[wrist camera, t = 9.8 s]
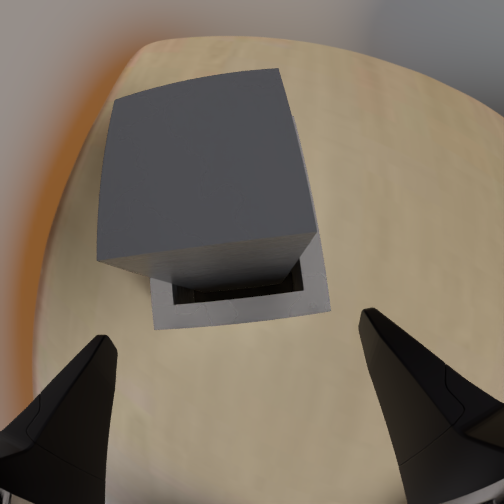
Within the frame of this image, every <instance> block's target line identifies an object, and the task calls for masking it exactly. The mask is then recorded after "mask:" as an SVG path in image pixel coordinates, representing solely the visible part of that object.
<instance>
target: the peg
mask: <svg viewBox="0 0 504 504" xmlns="http://www.w3.org/2000/svg"><path fill="white" fill-rule="evenodd" d="M316 233H317V228H316V222H315V217H314V212H313V207H312V202H311V197H310V192H309V187H308V182H307V178H306V173H305V168H304V164H303V160H302V155H301V151H300V147H299V143H298V139H297V134H296V130H295V127H294V123H293V119H292V115H291V111H290V107H289V104H288V100H287V96H286V93H285V89H284V86H283V82H282V79H281V76H280V72H279V69H278V68H275V69H261V70H250V71H241V72H233V73H226V74H219V75H213V76H207V77H201V78H196V79H191V80H186V81H181V82H177V83H172V84H168V85H164V86H160V87H156V88H152V89H149V90H145V91H142V92H138V93H135V94H132V95H128V96H125V97H122V98H119V99H116V100H115V101H114V105H113V110H112V114H111V119H110V124H109V129H108V135H107V141H106V147H105V153H104V160H103V167H102V176H101V185H100V195H99V208H98V225H97V261H99V262H102V263H105V264H108V265H111V266H114V267H118V268H121V269H124V270H127V271H130V272H134V273H137V274H140V275H144V276H147V277H150V278H154V279H157V280H161V281H164V282H168V283H171V284H175V285H178V286H182V287H185V288H189V289H193V290H197V291H200V292H204V293H208V292H217V291H226V290H235V289H243V288H252V287H260V286H268V285H276V284H281V283H282V282H283V281H284V279H285V278H286V276H287V275H288V274H289V272H290V271H291V269H292V268H293V266H294V265H295V264H296V262H297V261H298V259H299V258H300V256H301V255H302V253H303V252H304V251H305V249H306V248H307V246H308V245H309V243H310V242H311V240H312V239H313V237H314V236H315V234H316Z"/></svg>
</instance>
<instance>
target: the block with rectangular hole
mask: <svg viewBox="0 0 504 504" xmlns="http://www.w3.org/2000/svg"><path fill="white" fill-rule="evenodd" d="M292 119H293V123H294V127H295V130H296V134H297V139H298V143H299V147H300V151H301V155H302V160H303V164H304V168H305V173H306V178H307V182H308V187H309V192H310V197H311V202H312V207H313V212H314V217H315V222H316V228H317V233H316V234H315V236H314V237H313V239H312V240H311V242H310V243H309V245H308V246H307V248H306V249H305V251H304V252H303V253H302V255H301V256H300V258H299V259H298V261H297V262H296V264H295V265H294V266H293V268H292V269H291V274H292V281H293V289H294V292H289V293H282V294H274V295H266V296H258V297H249V298H240V299H231V300H222V301H212V302H202V303H195V300H194V290H193V289H189V288H185V287H182V286H178V285H175V284H171V283H168V282H164V281H161V280H157V279H154V278H150V287H151V301H152V312H153V322H154V330H161V329H179V328H194V327H206V326H218V325H229V324H239V323H248V322H257V321H265V320H274V319H281V318H289V317H296V316H303V315H309V314H316V313H322V312H328V311H331V307H330V299H329V292H328V285H327V278H326V271H325V265H324V258H323V252H322V246H321V240H320V234H319V229H318V223H317V218H316V213H315V208H314V202H313V197H312V193H311V188H310V183H309V178H308V174H307V169H306V165H305V160H304V156H303V152H302V148H301V143H300V139H299V135H298V131H297V127H296V123H295V120H294V116H292Z"/></svg>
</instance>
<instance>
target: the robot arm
mask: <svg viewBox="0 0 504 504" xmlns="http://www.w3.org/2000/svg"><path fill="white" fill-rule="evenodd" d="M359 334H360V338H361V342H362V346H363V350H364V354H365V359H366V363H367V367H368V370H369V374H370V377H371V379H372V382H373V385H374V388H375V391H376V394H377V397H378V400H379V403H380V406H381V409H382V412H383V415H384V418H385V421H386V425H387V428H388V431H389V434H390V438H391V441H392V445H393V448H394V451H395V455H396V459H397V462H398V466H399V470H400V474H401V478H402V482H403V486H404V490H405V494H406V499H407V503H408V504H504V403H502V402H500V401H498V400H496V399H495V398H493V397H492V396H490V395H489V394H487V393H486V392H484V391H483V390H481V389H480V388H478V387H477V386H475V385H474V384H472V383H471V382H469V381H468V380H466V379H465V378H464V377H462V376H461V375H460V374H458V373H457V372H456V371H455V370H453V369H452V368H451V367H450V366H448V365H447V364H446V365H445V363H444V362H443V361H442V360H441V359H440V358H438V357H437V356H436V355H435V354H433V353H432V352H431V351H430V350H428V349H427V348H426V347H424V346H423V345H422V344H421V343H419V342H418V341H417V340H416V339H414V338H413V337H412V336H410V335H409V334H408V333H407V332H405V331H404V330H403V329H401V328H400V327H399V326H398V325H396V324H395V323H394V322H392V321H391V320H390V319H389V318H387V317H386V316H385V315H383V314H382V313H381V312H379V311H378V310H377V309H375V308H367V309H363V310H362V312H361V317H360V322H359ZM117 356H118V353H117V349H116V347H115V346H114V344H113V343H112V341H111V340H110V338H109V337H108V336H107V335H97V336H95V337H94V338H93V339H92V340H91V341H90V342H89V343H88V344H87V345H86V346H85V347H84V348H83V349H82V350H81V351H80V352H79V353H78V354H77V355H76V356H75V357H74V358H73V359H72V360H71V361H70V362H69V363H68V365H67V366H66V367H65V368H64V369H63V370H62V371H61V372H60V373H59V374H58V375H57V376H56V377H55V378H54V379H53V380H52V381H51V382H50V383H49V384H48V385H47V386H46V387H45V389H44V390H43V391H42V392H41V393H40V394H39V395H38V396H37V397H36V398H35V399H34V400H33V402H31V403H30V405H29V406H28V407H27V408H26V409H25V410H24V411H22V412H21V413H20V414H19V415H18V416H17V417H16V418H15V419H14V420H13V421H12V422H11V423H10V424H9V425H8V426H7V427H6V428H5V429H4V430H2V431H0V504H105V477H106V460H107V448H108V438H109V428H110V420H111V413H112V406H113V399H114V392H115V382H116V368H117Z"/></svg>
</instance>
